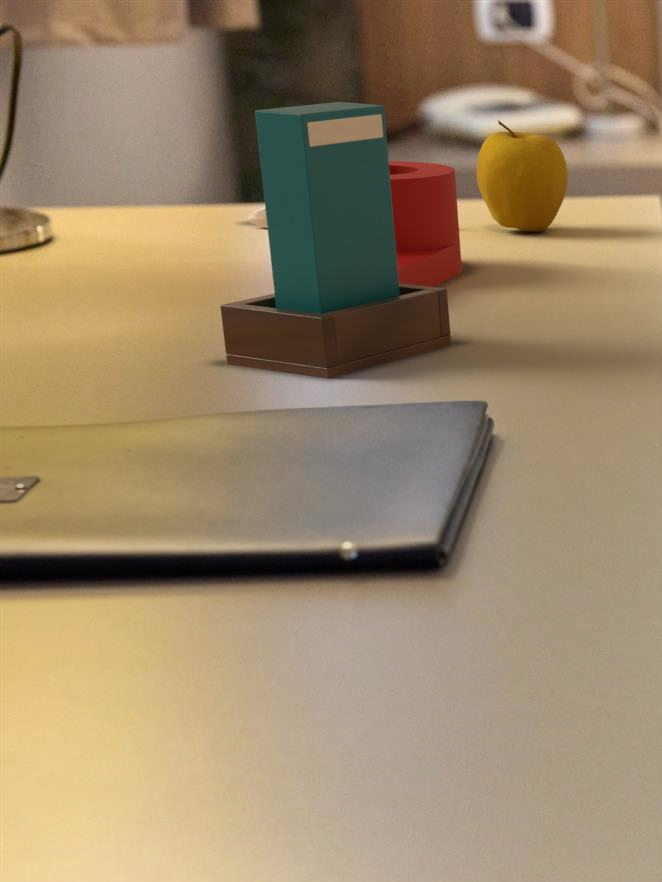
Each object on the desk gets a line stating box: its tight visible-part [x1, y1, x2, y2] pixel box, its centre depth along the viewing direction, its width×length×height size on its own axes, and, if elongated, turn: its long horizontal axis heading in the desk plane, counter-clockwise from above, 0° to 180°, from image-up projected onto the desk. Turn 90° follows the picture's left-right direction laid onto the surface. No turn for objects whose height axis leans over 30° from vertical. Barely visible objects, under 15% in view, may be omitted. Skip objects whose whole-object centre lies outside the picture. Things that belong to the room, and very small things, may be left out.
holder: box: [220, 283, 452, 380], centre depth 102 cm, size 10×7×3 cm
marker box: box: [254, 101, 400, 314], centre depth 100 cm, size 6×3×12 cm, turn 156°
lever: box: [389, 160, 463, 287], centre depth 121 cm, size 18×9×7 cm, turn 10°
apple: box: [476, 119, 568, 233], centre depth 142 cm, size 6×6×8 cm
